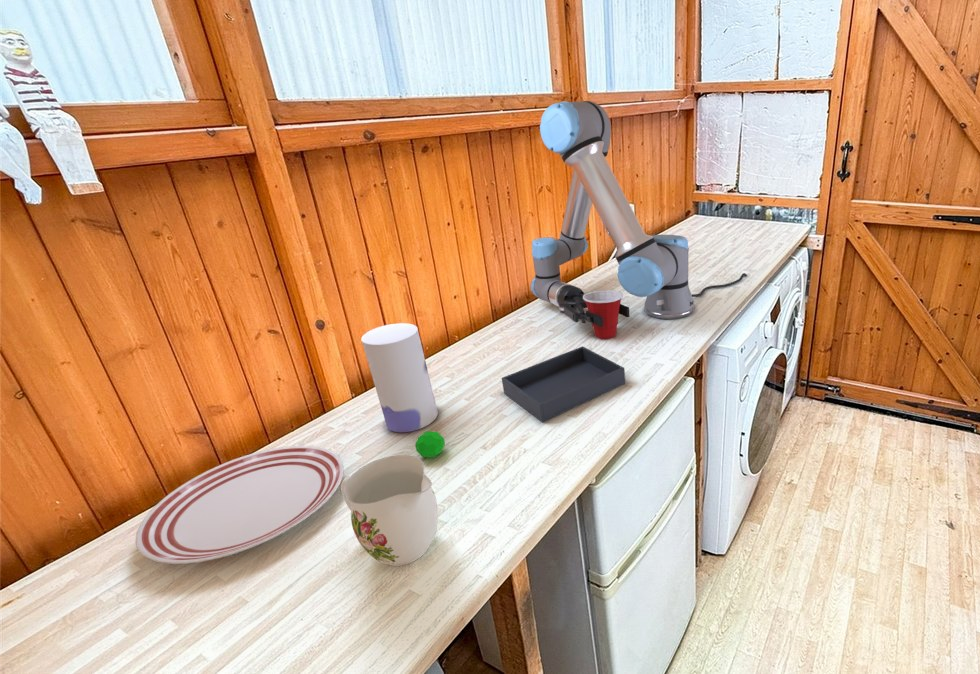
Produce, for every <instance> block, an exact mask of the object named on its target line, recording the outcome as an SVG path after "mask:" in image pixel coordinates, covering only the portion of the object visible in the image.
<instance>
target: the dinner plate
mask: <svg viewBox="0 0 980 674" xmlns="http://www.w3.org/2000/svg"><path fill="white" fill-rule="evenodd" d="M344 467H345V466H344V463H343V460H342V459H341V458H340V456H339V455H338V454H336V453H335V452H334V451H332V450H330V449H327V448H325V447H320V446H314V445H289V446H288V445H287V446H280V447H274V448H270V449H264V450H261V451H256V452H253V453H250V454H247V455H243V456H241V457H237V458H235V459H232V460H229V461H227V462H224V463H222V464H219V465H217V466H215V467H212V468H211V469H208V470H206V471H205V472H202V473H200V474H199V475H197V476H194V477H193V478H191V479H190V480H188V481H186V482H185V483H183V484H181V485H179V486H178V487H177V488H176V489H174V490H172V491H171V492H169V494H167V495H166V496H165V497H164V498H162V499H161V500H160V501H159V502H157V503H156V504H155V505H154V506H153V507H152V508H151V510H150V511H149V512H148V513H147V514H145V515H146V516H145V517H144V518H143V519H142V521H141V523H140V524H139V526H138V528H137V531H136V535H135V545H136V548H137V550H138V552H139V553H140V554H141V555H142V556H143V557H145V558H147V559H148V560H151V561H153V562H157V563H162V564H169V565H183V564H185V565H186V564H196V563H201V562H208V561H213V560H217V559H221V558H225V557H228V556H232V555H235V554H239V553H241V552H243V551H247V550H249V549H252V548H254V547H257V546H259V545H262V544H263V543H266V542H268V541H271V540H273V539H274V538H276V537H278V536H280V535H282V534H283V533H285V532H287V531H289V530H291V529H292V528H294V527H295V526H297V525H299V524H300V523H301V522H303V521H305V520H306V519H307V518H308V517H310V516H312V515H313V514H314V513H316V512H317V511H318V510H319V509H320V508H321V507H323V506H324V505H325V504H326V502H328V501H329V500H330V499H331V498H332V496H333V495H334V494H335V492H336V491H337V489H338V488H339V486H340V485H341V483H342V481H343V477H344V472H345V468H344Z"/></svg>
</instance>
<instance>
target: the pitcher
mask: <svg viewBox="0 0 980 674" xmlns="http://www.w3.org/2000/svg"><path fill="white" fill-rule="evenodd" d="M425 470H426V469H425V463H424V461H423V460H422V459H421V458H419V457H417V456H415V455H411V454H394V455H389V456H384V457H382V458H381V457H380V458H378V459H375V460H373V461H371V462H369V463H367V464H365V465H363V466H362V467H361V468H359V469H358V470H356V471H355V472H354V473H352V474H351V475H348V476H347V477H345V478H344V479H342V480H341V483H340V491H341V494H342V497H343V500H344V502H345V505H346V506H347V508H348V509H349V510H350V522H351V527H352V530H353V534H354V535H355V537H356V539H357V541H358V543H359V544H360V546H361V548H363V549H364V550H365V552H366V553H367V554H368V555H370V556H371V557H372V558H374V559H375V560H376V561H378V562H380V563H382V564H385V565H389V566H393V567H400V566H405V565H408V564H411V563H413V562H415V561H417V560H418V559H420V558H422V556H424V554H425V553H426V552H427V551H428V550H429V548H430V547H431V545H432V543H433V541H434V538H435V536H436V533H437V528H438V523H439V522H438V521H439V507H438V501H437V498H436V494H435V492H434V490H433V488H432V484H433V483H432V481H431V479H430V477H428V476H427V475H426V474H425V473H426V471H425Z"/></svg>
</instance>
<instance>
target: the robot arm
mask: <svg viewBox="0 0 980 674" xmlns="http://www.w3.org/2000/svg"><path fill="white" fill-rule="evenodd" d="M611 125H612V124H611V120H610V117H609V115H608V113H607V111H606V110H605V109H604V107H603V106H602V105H600V104H598V103H597V102H595V101H591V100H582V101H566V100H565V101H560V102H556V103H553V104H551V105H549V106H548V107H547V108H546V109H545V110H544V112H543V113H542V116H541V118H540V124H539V132H540V137H541V140H542V142H543V145H544V146H545V147H546V148H547V149H548V150H549V151H551V152H553V153H555V154H559V156H560V157H561V159H562V161H563V164H564V165H565V166H568V167H570V168H573V170H572V175H571V180H570V185H569V190H568V195H567V199H566V204H565V211H564V216H563V220H562V225H561V230H560V234H559V238H558V239H556V238H554V237H547V236H546V237H540V238H535V239H534V240H532V242H531V256H532V263H533V270H534V277H533V279H532V280H531V284H530V291H531V293H532V294H533V296H535V297H537V298H538V299H539V300H540V301H544V302H547V303H550V304H551V305H554V306H556V307H558V308H559V313H561V314H563V315H565V316H566V317H568V318H569V319H570V320H571V321H573V322H574V323H578V322H579V321H580V322H581V324H586V323H587V322H588V323H591V324H592V323H593V324H595V325H597V326H600V327H603V317H602V316H599V315H597V314H594V313H590V312H589V311H588V310H586V311H585V309H588V308H587V305H586V303H585V301H584V299H583V295H585V294H586V293H585V292H584V291H583V290H582V288H580V287H577V286H575V285H573V284H570V283H567V282H564V281H562V280H561V279H562V278H561V269H560V268H561V267H560V266H562V265H565V264H566V263H568V262H570V261H572V260H575V259H578V258H580V257H581V256H582V255H584V254H585V253H586V252H587V250H588V248H589V244H588V240H587V238H586V236H585V235H586V231H587V227H588V224H589V223H588V222H589V218H590V214H591V209H592V206H593V207H594V209H595V210H596V213H597V214H598V216H599V218H600V220H601V222H602V224H603V226H604V227H605V229H606V231H607V233H608V235H609V237H610V238H611V240H612V242H613V244H614V245H615V247H616V252H615V255H614V258H615V259H616V262H617V263H618V267H617V274H616V275H617V279H618V282H619V284H620V285H621V287H622V289H624V291H626V293H628V294H630V295H632V296H635V297H637V298H646V299H645V301H644V312H645V314H646V315H648V316H649V317H652V318H654V319H660V320H677V319H682V318H686V317H688V316H690V315H692V314H693V313H694V312H695V302H694V298H699V297H701V296H702V295H704V293H705V291H707V290H711V289H717V288H725V287H730V286H733V285H735V284H738V283H739V282H741V281H742V280H743V278H744V277H748V275H747V273H745V272H743V273H742V274H741V275H740V277H739V278H738V279H736V280H734V281H732V282H728V283H725V284H724V283H723V284H714V285H709V286H706V287H704V288H703V289H702V290H701V291H700V292H699V293H693V294H692V292H691V289H690V286H689V251H690V247H689V241H688V239H687V237H686V236H683V235H678V234H652V235H649V234H647V233H645V231H644V229H643V227H642V225H641V223H640V222H639V220H638V218H637V216H636V214H635V212H634V210H633V208H632V206H631V204H630V203H629V201H628V198H627V197H626V195H625V193H624V191H623V189H622V187H621V186H620V183H619V181H618V179H617V178H616V175H615V174H614V172H613V170H612V168H611V167H610V163H608V161H607V157H608V153H609V149H610V144H611V137H612V126H611ZM619 315H621V316H622V317H626V318H630V315H631V314H630V307H629V306H626V305H624V304H622V303H620V306H619Z"/></svg>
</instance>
